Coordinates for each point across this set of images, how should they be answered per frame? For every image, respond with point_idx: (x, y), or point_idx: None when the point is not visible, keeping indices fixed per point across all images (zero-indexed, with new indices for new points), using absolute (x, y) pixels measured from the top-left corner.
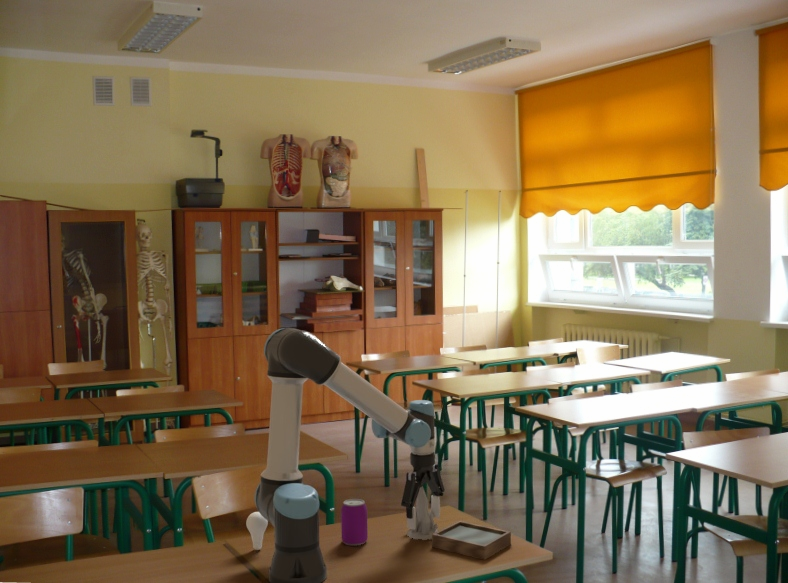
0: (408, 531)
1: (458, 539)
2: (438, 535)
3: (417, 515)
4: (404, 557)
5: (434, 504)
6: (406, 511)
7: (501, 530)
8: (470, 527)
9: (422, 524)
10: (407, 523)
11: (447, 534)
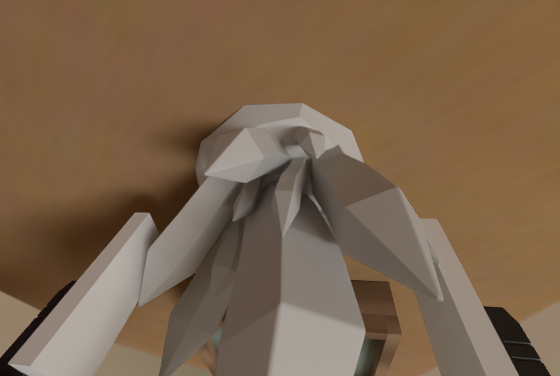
0: (214, 143)
1: (215, 369)
2: None
3: (256, 232)
4: (65, 252)
5: (447, 329)
6: (24, 332)
7: None
8: (372, 350)
9: (184, 292)
10: (119, 235)
11: None
